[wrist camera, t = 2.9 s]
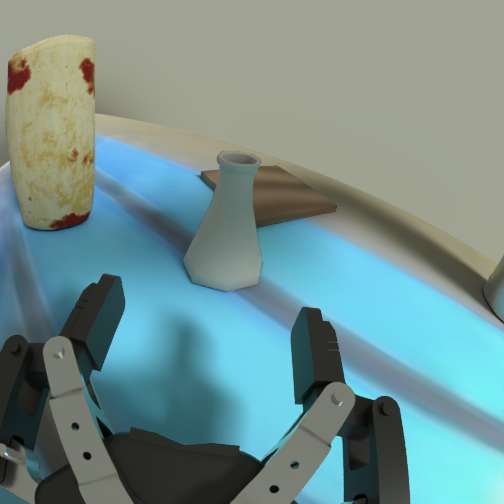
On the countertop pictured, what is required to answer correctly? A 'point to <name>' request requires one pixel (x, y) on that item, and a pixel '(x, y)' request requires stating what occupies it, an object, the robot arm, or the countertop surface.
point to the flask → (228, 229)
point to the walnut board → (279, 196)
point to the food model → (52, 130)
